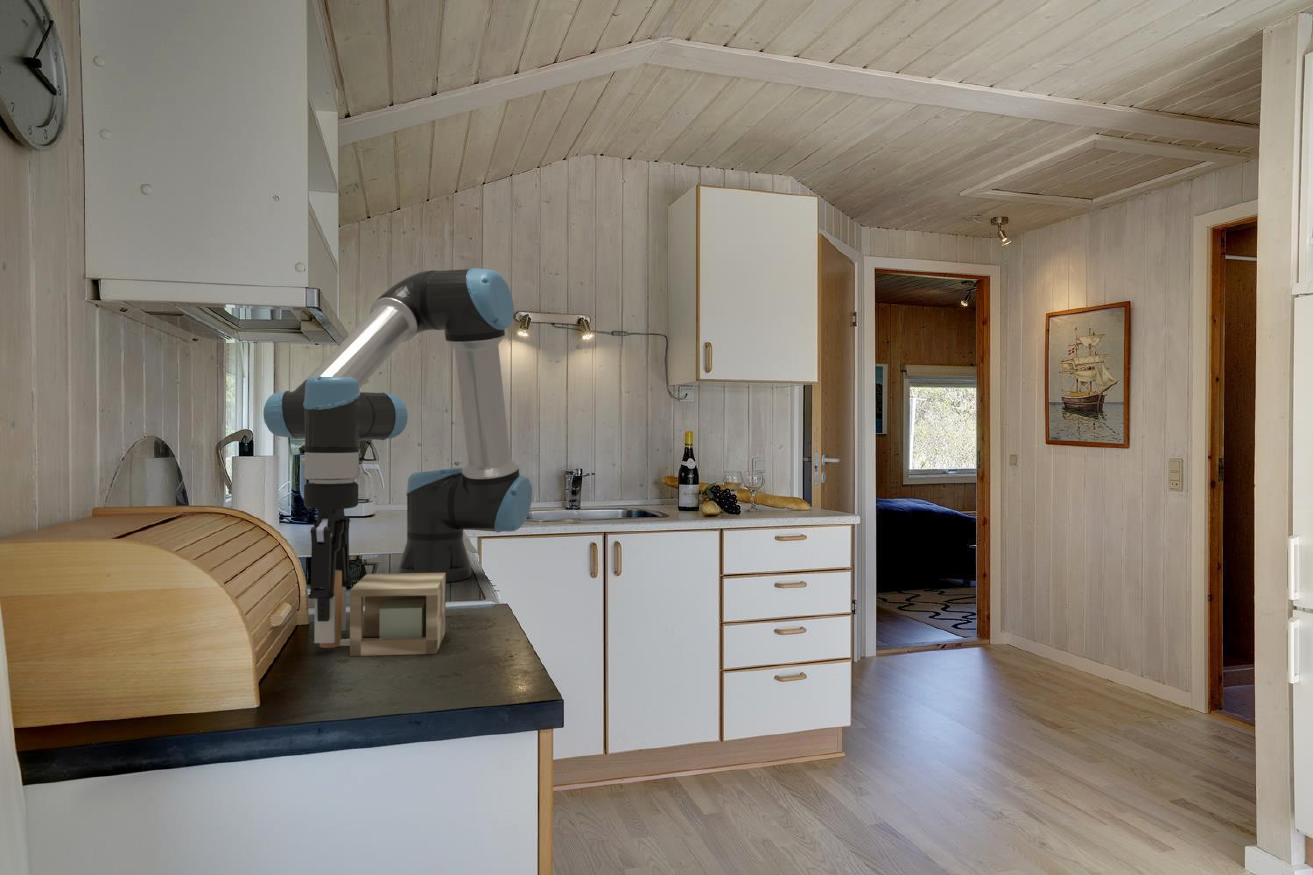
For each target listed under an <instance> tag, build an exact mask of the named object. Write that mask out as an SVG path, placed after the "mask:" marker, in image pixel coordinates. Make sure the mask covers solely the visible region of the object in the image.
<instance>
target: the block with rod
mask: <svg viewBox="0 0 1313 875" xmlns="http://www.w3.org/2000/svg"><path fill="white" fill-rule="evenodd" d="M333 597H336V611H335V642H334V643H319V647H320V648H322V649H334V648H338V647H346V646H347V647H350V638H342V631H341V622H342V571H341V570H335V580H334V596H333ZM425 637H426V599H409V600H386V601H385V603H384V604H383V605H382V606H381V608H380V615H379V636H378V637H374V638H373V637H372V638H371V637H370V638H369V637H367V638H364V637H363V639H384V638H425Z"/></svg>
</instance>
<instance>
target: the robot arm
mask: <svg viewBox="0 0 1313 875" xmlns="http://www.w3.org/2000/svg"><path fill="white" fill-rule="evenodd" d="M514 313H515V306H514V299H513V295H512V292H511V289H510V286H509V285H508V282H507V281H506V280H505V278H504V277H503V276H502V275H501V274H500V272H498V271H496V270H494V269H490V268H489V269H488V268H474V267H473V268H465V269H464V268H463V269H462V268H461V269H460V268H459V269H448V270H447V269H445V270H444V269H443V270H442V269H441V270H433V269H432V270H425V271H419V272H417V273H414V274H411V275H409V276H408V277H406V278H404V279H402V280H400V281H399V282H397V283H396V284H394V285H393V286H392V287H390V288H389V289H387V290H386V291H384V293H382V294H381V296H379V297H378V298H377V299H376V300H375V301H374V302H373V303H372V305H371V307H370V309H369V315H368V316H367V317H366V318H365V319H364V320H363V321H362V322H361V323H360V324H359V325H358V326H357V327H356V328H355V329H354V330H353V331H352V332H351V333H350V334H349V335H348V336H347V337H346V338H345V339H344V340H343V341H342V342H341V343H340V344H339V345H338V346H337V347H336V348H335V349H334V350H333V352H331V353H330V354H329V355H328V356H327V357H326V358H325V359H324V360H323V361H322V363H320V365H318V367H317V368H315V369H314V370H313V372H312V373H310V375H309V376H308V377H306V379H304V381H303V382H302V383H301V384H300V385H298V387H296V389H294V390H293V391H290V390H284V391H281V392H280V391H279V392H275V393H272V395H269V397H268V398H267V399H266V402H265V404H264V406H263V412H262V414H263V420H264V424H265V425H266V427H267V429H268V431H270V433H272V434H273V435H274V436H277V437H283V438H292V439H295V440H297V439H304V446H303V448H304V449H303V450H304V457H302V458H301V459H300V464H301V465H303V466H304V472H303V473H304V476H303V477H304V478H305V479H306V480H308V482H305V484H304V485H303V505H304V507H305V508H306V509H310V510H317V512H318V513H317V520H316V521H314V525H313V526H312V527H311V528H310V530H309V531H310V539H311V555H310V556H311V558H310V559H311V562H310V591H309V593H308V595H307V596H308V597H307V598H308V599H311V600H313V599H314V632H313V633H314V634H313V635H314V639H313V640H314V644H320V643H334V642H335V611H336V597H333V596H334V580H335V570H341V571H342V622H341V632H345V631H346V630H347V623H346V622H347V618H346V616H347V587H352V581H353V580H351V579H350V539H349V538H350V536H349V535H350V522H351V519H350V516H346V515H345V510H346V509H352V508H355V507H357V506H358V505H359V484H358V483H357V481H355V480H357V479H358V478H359V477H360V452H359V440H363V441H367V440H369V441H370V440H371V441H374V440H377V441H379V440H380V441H385V440H388V439H394V438H396V437H398V436H400V435H401V434H402V433H403V431H404V430H405V429H406V426H407V424H408V418H409V416H408V415H409V414H408V409H407V406H406V405H405V403H404V402H403V400H402V399H401V398H400V397H399V396H397V395H395V394H391V393H387V392H365V391H363V392H362V391H361V390H360V389H361V388H362V387H363V386H364V384H366V382H367V381H368V380H369V379H370V378H371V377H372V376H373V375H374V373H375V372H376V371H377V370H378V369H379V367H381V366H382V365H383V364H384V362H386V360H387V359H388V358H389V357H390V356H391V354H393V352H394V351H395V350H396V349H397V348H398V347H399V346H400V344H401V343H406V342H409V341H410V340H412V339H413V338H414V337H415V336H416V335H417V334H418V333H421V332H425V331H433V330H434V331H435V330H436V331H444V338H445V342H446V343H447V344H448V345H450V346H451V347H452V348H453V350H454V354H455V355H454V356H455V363H456V371H457V372H456V373H457V379H458V380H457V381H458V390H459V397H460V398H459V399H460V405H461V413H462V421H463V422H462V424H463V428H464V429H463V430H464V437H465V445H466V446H465V448H466V454H467V462H468V463H467V465H465V467H464V468H463V467H454V468H445V469H436V470H429V471H428V470H427V471H417V472H414V473H412V474H410V475H409V477H408V480H407V486H406V487H407V488H406V493H405V494H406V495H405V496H406V510H407V511H406V544H405V547H404V550H403V552H402V555H401V558H400V561H399V564H398V568H397V569H398V570H397V573H446V583H451V582H458V581H462V580H465V579H468V578H470V577H471V576H472V564H471V562H470V561H471V560H470V558H469V554H468V552H467V549H466V546H465V542H464V531H466V530H467V531H481V532H483V531H484V532H496V533H503V532H506V533H507V532H508V533H509V532H515V531H518V530H519V529H520V528H522V527H523V525H524V524H525V522H526V520H528V519H527V518H528V516H529V513H530V510H531V506H532V501H533V500H532V499H533V486H532V483H531V481H530V479H529V478H528V477H526V476H524V475H520V467H519V464H518V463H517V462H516V461H515V460H513V459H512V458H511V451H510V442H509V434H508V425H507V417H506V416H507V414H506V404H505V396H504V395H505V393H504V386H503V385H504V384H503V378H502V376H503V375H502V367H501V358H500V349H499V346H500V343H501V342H502V341H503V339H504V338H505V337H506V333H505V329H507V328H509V327H510V326H511V325H512V323H513V319H514ZM349 579H350V580H349Z"/></svg>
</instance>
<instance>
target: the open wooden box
mask: <svg viewBox="0 0 1313 875" xmlns="http://www.w3.org/2000/svg"><path fill="white" fill-rule="evenodd" d="M446 585H447V582H446V573H398V572H397V573H395V572H394V573H391V572H389V573H366V574H365V575H364V576H363V577H362V578H361V579H360V580H358V581H357V583H356V584H354V585H353V586H351V588H350V591H349V596H350V597H349V639H350V646H349V657H360V656H361V657H363V656H364V657H365V656H371V657H372V656H398V655H399V656H402V655H403V656H404V655H430V654H431V655H433V654H434V655H436V654H438V652H439V649H440V646H441V644H442V641H443V639H444V636H445V634H446V598H447V596H446V595H447V594H446V592H447V591H446V590H447V589H446V587H447V586H446ZM409 599H426V637H425V638H384V639H363V638H364V637H367V638H369V637H370V638H371V637H372V638H373V637H379V615H380V608H381V606H382V605H383V604H384V603H385V601H386V600H409Z"/></svg>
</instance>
